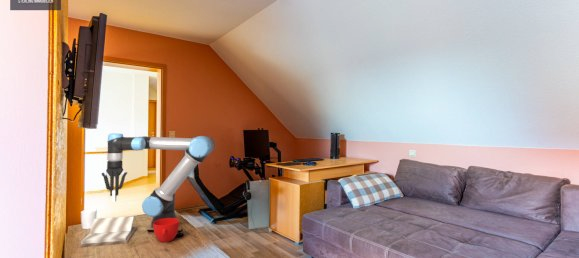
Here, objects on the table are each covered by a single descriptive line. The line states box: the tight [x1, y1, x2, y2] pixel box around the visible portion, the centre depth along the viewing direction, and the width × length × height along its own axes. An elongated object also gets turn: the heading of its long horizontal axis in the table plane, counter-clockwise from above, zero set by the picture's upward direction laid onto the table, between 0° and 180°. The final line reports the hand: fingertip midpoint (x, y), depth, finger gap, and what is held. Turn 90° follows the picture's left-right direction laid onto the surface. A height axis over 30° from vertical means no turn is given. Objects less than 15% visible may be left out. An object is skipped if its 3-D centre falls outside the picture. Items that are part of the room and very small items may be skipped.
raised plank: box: [88, 216, 135, 235], centre depth 165 cm, size 20×10×2 cm
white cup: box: [80, 208, 98, 230], centre depth 175 cm, size 8×8×10 cm
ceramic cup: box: [153, 218, 180, 243], centre depth 156 cm, size 13×17×10 cm
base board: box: [77, 226, 137, 248], centre depth 160 cm, size 22×22×3 cm
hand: (114, 201), depth 167 cm, fingers closed
